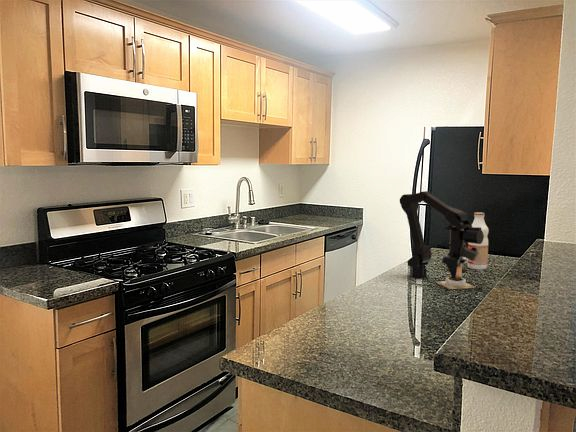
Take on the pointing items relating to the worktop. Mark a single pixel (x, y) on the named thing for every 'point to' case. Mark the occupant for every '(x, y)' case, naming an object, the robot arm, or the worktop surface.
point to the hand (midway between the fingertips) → (455, 277)
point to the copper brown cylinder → (458, 274)
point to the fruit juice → (481, 248)
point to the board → (455, 287)
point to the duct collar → (455, 282)
